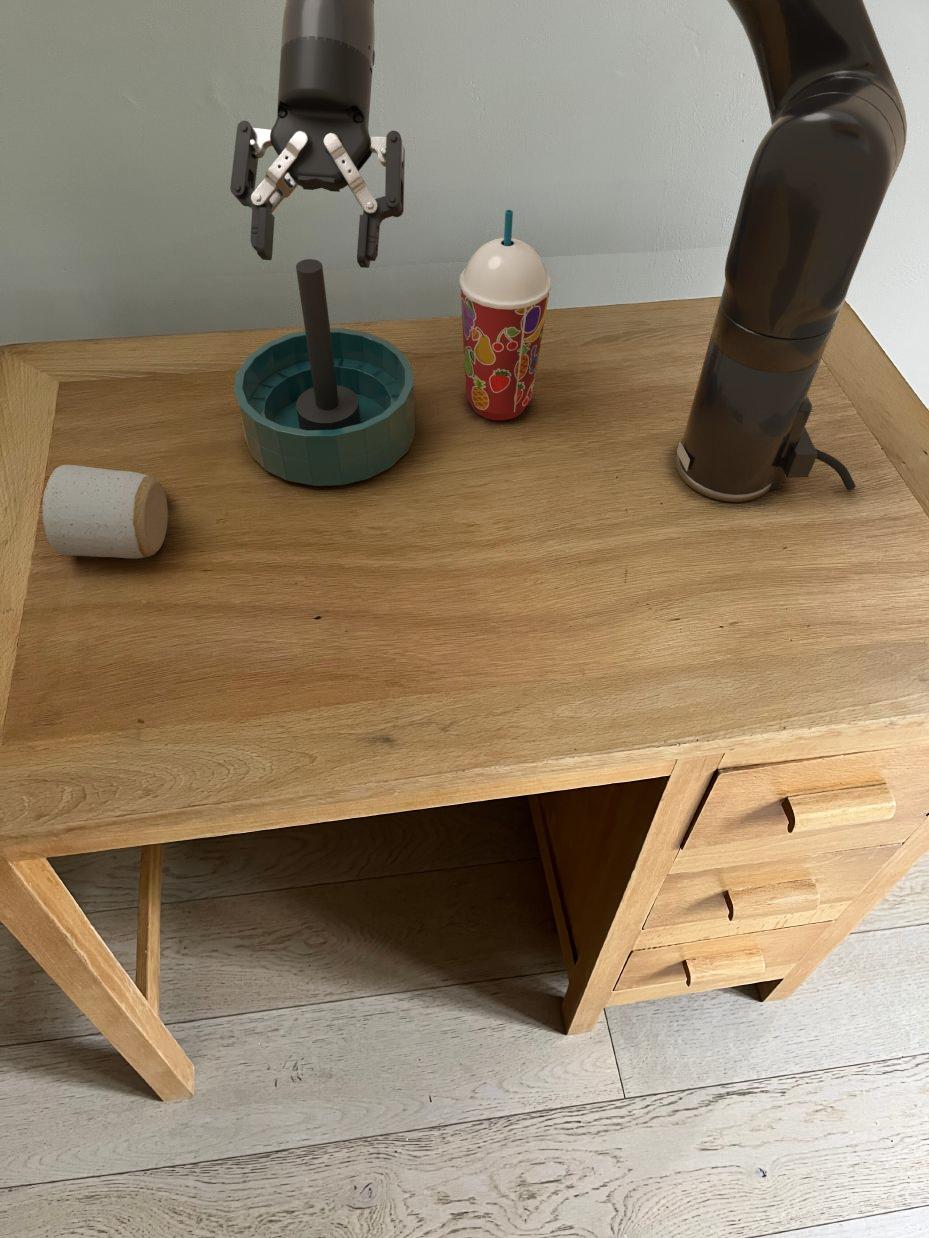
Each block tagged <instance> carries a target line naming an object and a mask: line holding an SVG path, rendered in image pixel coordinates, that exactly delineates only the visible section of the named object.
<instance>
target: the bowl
mask: <svg viewBox="0 0 929 1238" xmlns="http://www.w3.org/2000/svg"><path fill="white" fill-rule="evenodd" d="M330 333H331V341H332V350H333V358H334V366H335V375H336V383H337V385H340V386H344V387H346V388H348V389H350V390H352V391H353V392H354V393H355V394H356V396H357V398H358V401H359V411H360V421H361V424H357V425H352V426H348V427H344V428H339V429H335V430H303V429H300V427H299V421H298V415H297V409H296V402H297V400H298V398H299V396H300V395H301V394H302V393H303V392H305V391H306V390H308V389H310V388H312V387H313V381H312V374H311V367H310V360H309V353H308V347H307V340H306V333H305V330H301V331H296V332H291V333H287V334H284V335H283V336H279V337H278V338H275V339H272V340H270V341H268V342H266V343H264V344H263V345H261V346H260V347H258V348H257V349H256V350H255V351H254V352H252V353H251V354H248V356H247V357H246V358H245V360H244V361H243V363H242V364H241V365H240V366H239V368H238V370H236V373H235V379H234V384H233V393H234V397H235V402H236V405H237V411H238V415H239V418H240V423H241V427H242V432H243V436H244V440H245V443H246V446H247V449H248V451H249V455H250V456H251V457H252V458H253V459H254V460H255V461H256V462H257V463H258V464H259V465H260V466H261V468H263V469H264V470H265V471H266V472H268V473H270V474H272V475H274V476H276V477H278V478H281V479H282V480H285V481H287V482H292V483H297V484H303V485H306V486H307V485H308V486H311V487H312V486H314V487H328V486H329V487H330V486H344V485H348V484H352V483H356V482H360V481H365V480H369V479H371V478H373V477H375V476H377V475H379V474H381V473H383V472H384V471H387V470H388V469H391V468H392V467H393V466H394V465H395V464H396V463H397V462H398V461H399V460H400V459H401V458H402V457H404V455H405V454H406V453H407V452H409V449H410V447H411V445H412V442H413V441H414V438H415V436H416V415H415V413H416V412H415V386H414V383H415V382H414V368H413V366H412V365H411V363H410V361H409V359H408V358H407V356H406V354H405V353H404V352H403V351H402V350H401V349H399V348H398V347H397V346H396V345H394V344H393V343H391V342H390V341H389V340H387V339H384V338H382V337H379V336H377V335H375V334H372V333H369V332H367V331H363V330H357V329H351V328H345V327H330Z"/></svg>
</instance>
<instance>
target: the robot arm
mask: <svg viewBox="0 0 929 1238" xmlns="http://www.w3.org/2000/svg"><path fill="white" fill-rule="evenodd" d="M726 1H727V3H728V4H729V6H730V7H731V9H732V10H733V12H734V14H735V15H736V17H737V19H738V20H739V22H740V24H741V26H742V28H743V30H744V32H745V34H746V37H747V39H748V42H749V45H750V47H751V50H752V53H753V56H754V59H755V63H756V66H757V69H758V72H759V76H760V80H761V83H762V87H763V92H764V94H765V95H764V96H765V99H766V103H767V108H768V113H769V118H770V123H771V126H770V128H769V129H768V130H767V132H766V133H765V135H764V136H763V138H762V139H761V141H760V143H759V144H758V146H757V148H756V151H755V153H754V155H753V158H752V160H751V164H750V165H749V170H748V174H747V175H746V180H745V184H744V186H743V190H742V194H741V199H740V202H739V205H738V209H737V214H736V219H735V223H734V226H733V231H732V235H731V239H730V243H729V247H728V250H727V256H726V259H725V265H724V286H723V289H722V293H721V298H720V301H719V304H718V307H717V311H716V315H715V318H714V322H713V326H712V329H711V334H710V337H709V341H708V344H707V348H706V352H705V356H704V360H703V362H702V366H701V370H700V373H699V378H698V381H697V385H696V389H695V392H694V396H693V398H692V403H691V406H690V410H689V413H688V418H687V421H686V425H685V429H684V432H683V436H682V438H681V440H680V441H679V443H678V446H677V450H676V454H677V455H676V458H675V468H676V470H677V474H678V475H679V477H680V478H681V480H682V481H683V482H684V483H685V484H686V485H687V486H689V487H690V488H691V489H692V490H694V491H695V492H697V493H699V494H701V495H703V496H705V497H707V498H709V499H710V498H711V499H714V500H718V501H722V502H730V503H731V502H732V503H741V502H748V501H752V500H755V499H758V498H760V497H762V496H764V495H765V494H767V492H769V490H779V489H781V487H782V484H783V482H784V479H785V477H786V478H787V479H798V478H799V479H801V478H808V477H809V476H810V474H811V472H812V469H813V467H814V464H815V462H816V460H818V461H820V462H822V463H824V464H826V465H828V466H829V467H830V468H832V469H833V470H834V471H835V472H836V473H837V475H838V476H839V478H840V479H841V482H842V484H843V486H844V487H845V489H846V491H847V492H851V491H852V490H855V488H856V486H857V485H856V483H855V481H854V480H853V479H854V478H853V477H852V475H851V473H850V472H849V470H848V468H847V467H846V466H845V465H844V464H843V463H842V462H841V461H840V460H839V459H838V458H836V457H835V456H833V455H831V454H829V453H827V452H825V451H822V450H820V449H818V448H816V447H815V445H814V443H813V441H812V439H811V437H810V435H809V433H808V430H807V428H806V426H807V423H808V420H809V417H810V416H811V413H812V410H813V404H812V402H811V399H810V398H809V396H808V394H809V391H810V389H811V386H812V384H813V381H814V379H815V377H816V374H817V371H818V368H819V366H820V364H821V361H822V359H823V356H824V353H825V351H826V349H827V345H828V343H829V341H830V338H831V335H832V333H833V330H834V328H835V326H836V323H837V320H838V318H839V316H840V313H841V312H842V311H841V310H842V308H843V306H844V303H845V301H846V298H847V295H848V291H849V289H850V286H851V282H852V280H853V277H854V275H855V272H856V270H857V267H858V265H859V262H860V260H861V257H862V255H863V253H864V250H865V248H866V244H867V242H868V240H869V238H870V235H871V232H872V229H873V227H874V225H875V223H876V220H877V217H878V215H879V213H880V210H881V207H882V204H883V203H884V199H885V197H886V195H887V192H888V189H889V188H890V185H891V184H892V181H893V179H894V177H895V175H896V172H897V170H898V168H899V166H900V163H901V161H902V159H903V156H904V152H905V149H906V144H907V133H908V123H907V115H906V110H905V107H904V103H903V99H902V97H901V94H900V91H899V88H898V86H897V84H896V81H895V79H894V76H893V74H892V70H891V69H890V67H889V64H888V62H887V59H886V56H885V54H884V52H883V49H882V47H881V43H880V41H879V39H878V36H877V34H876V31H875V28H874V26H873V23H872V21H871V18H870V15H869V13H868V10H867V8H866V4H865V2H864V0H726ZM284 5H285V6H284V11H283V15H282V16H283V17H282V26H281V27H282V28H281V43H280V59H279V76H278V93H277V111H276V112H277V114H276V120H275V123H274V125H273V126H272V128H271V129H268V128H262V127H261V128H260V127H254V126H252V125H251V123H250V122H249V121H248V120H240V121H239V122H238V124H237V126H236V133H235V143H234V152H233V161H232V169H231V178H230V187H229V189H230V192H231V193H232V195H233V196H234V198H236V200H237V201H238V202H239V203H240V204H241V205H242V206H243V207H248V208H250V209H251V221H250V222H251V223H250V238H249V239H250V240H249V241H250V243H251V247H252V249H254V250H255V251H256V254H257V255H258V256H259V258H260V259H261V260H263V261H272V259H273V251H274V250H273V249H274V235H275V216H274V214H273V213H274V212H275V211H276V209H277V207H278V206H279V205H280V204H281V203H282V201H283V200H285V199H287V198H289V197H290V196H291V195H292V193H293V192H294V191H295V190H296V189H297V187H298V186H299V187H301V188H302V189H303V190H304V191H305V190H306V191H307V190H308V191H314V190H315V191H316V190H319V189H324V190H326V191H329V192H336V193H337V192H338V193H340V191H341V190H343V189H344V188H346V187H347V186H348V188H349V190H350V192H351V193H352V195H353V197H354V198H355V200H356V201H357V202H358V204H359V205H360V207H361V209H362V210H363V212H362V214H359V221H358V222H359V223H358V234H357V235H358V236H357V251H356V262H357V264H358V265H359V267H360V268H365V269H368V268H370V265H371V262H376V260H377V258H378V255H379V244H380V243H379V240H380V229H381V223H382V222H383V221H384V220H386V219H388V218H391V217H392V218H399V217H402V215H403V214H404V209H405V168H406V167H405V161H406V159H405V158H406V148H405V145H404V142H403V138H402V137H401V134H400V132H399V131H397V130H390V131H389V132H387V134H386V135H383V136H382V135H370V131H369V122H370V112H371V111H370V110H371V97H372V96H371V95H372V85H373V84H372V82H373V70H374V65H375V60H376V59H375V58H376V51H375V41H376V39H375V38H376V31H375V30H376V29H375V28H376V27H375V0H286V1H285V4H284ZM270 147H272V148H273V150H274V151H275V153H276V154H277V157H276V159H275V160H274V161H273V162H272V164H271V165H270V166H269V167H268V168H267V170H266V171H265V176H264V178H263V179H262V180H261V181H260V183H259V184H258V185H257V187H256V183H257V172H258V164H259V159H262V158H263V157H264V156H265V154H266V152H267V149H268V148H270ZM372 154H376V155H377V157H378V159H379V163H380V165H381V166H383V167H385V181H384V182H385V187H384V188H385V189H384V190H385V191H384V195H383V196H381V197H377V198H375V197H374V195H373V193H372V192H371V190H370V188H369V186H368V185H367V184H366V182H365V180H364V178H363V176H362V174H361V173H360V170H362V168H363V167H364V165H365V164H366V163H367V162H368V161H369V159H370V158H371V156H372Z"/></svg>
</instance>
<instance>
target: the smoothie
mask: <svg viewBox="0 0 929 1238" xmlns="http://www.w3.org/2000/svg"><path fill="white" fill-rule="evenodd" d="M513 219H514V211H513V210H512V209H506V210H505V212H504V229H503V237H498V238H494V239H492V240H491V239H490V240H489V241H487V242H485V243H484V244H482V245H481V246H479V248H478V249H476V250H475V252H474V253H473V254H472V256H471V257H470V259H469V260H468V262H467V264H466V266H465V267H464V269H463V270H462V271H461V273H460V274H459V281H458V283H459V288H460V305H461V307H460V308H461V326H462V345H463V346H462V347H463V362H464V363H463V364H464V365H463V366H464V381H465V397H466V399H467V401H468V402H469V403H470V406H471V407H472V409H473V411H474V412H475V413H476V414H477V415H479V416H481V417H483V418H484V419H487V420H492V421H506V420H507V421H508V420H512V419H514V418H517V417H519V416H520V415H521V414H523V412H524V411H525V409H526V407H527V406H528V405H529V404H530V403H531V400H532V398H533V395H534V394H533V393H534V388H535V382H536V377H537V376H536V375H537V371H538V364H539V358H540V352H541V346H542V339H543V334H544V327H545V322H546V316H547V311H548V310H547V309H548V304H549V298H550V291H551V289H552V278H551V276H550V274H549V273H548V271H547V269H546V267H545V264H544V262H543V261H542V258H541V257H540V255H539V253H537V251H536V249H534V248H533V247H532V246H530V245H529V244H528V243H527V242H525V241H522V240H520V239H519V238H514V237H512V235H513Z"/></svg>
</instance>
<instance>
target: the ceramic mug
mask: <svg viewBox="0 0 929 1238" xmlns="http://www.w3.org/2000/svg"><path fill="white" fill-rule="evenodd" d="M41 507H42V523H43V527H44V532H45V535H46V538H47V541H48V543H49V545H50V546H51V548H52V549H53V550H54V551H55V552H56V553H58V554H59V555H63V556H73V557H74V556H76V557H77V556H78V557H79V556H80V557H97V558H98V557H99V558H121V559H142V558H148V557H152V556H154V555H155V554H157V553H158V551H159V550H160V549H161V547H162V546H163V544H164V541H165V539H166V534H167V530H168V521H169V520H168V519H169V509H168V508H169V507H168V500H167V495H166V491H165V489H164V486H163V485H162V484H161V482H160V481H159V480H158V479H157V478H156V477H153V476H151V475H148V474H144V473H141V472H135V471H128V470H127V471H126V470H114V469H107V468H99V467H91V466H84V465H76V464H62V465H60V466H57V467H56V468H55V469H54V470H53V471H52V473H51V474H50V476H49V478H48V480H47V484H46V485H45V488H44V493H43V498H42V506H41Z"/></svg>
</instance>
